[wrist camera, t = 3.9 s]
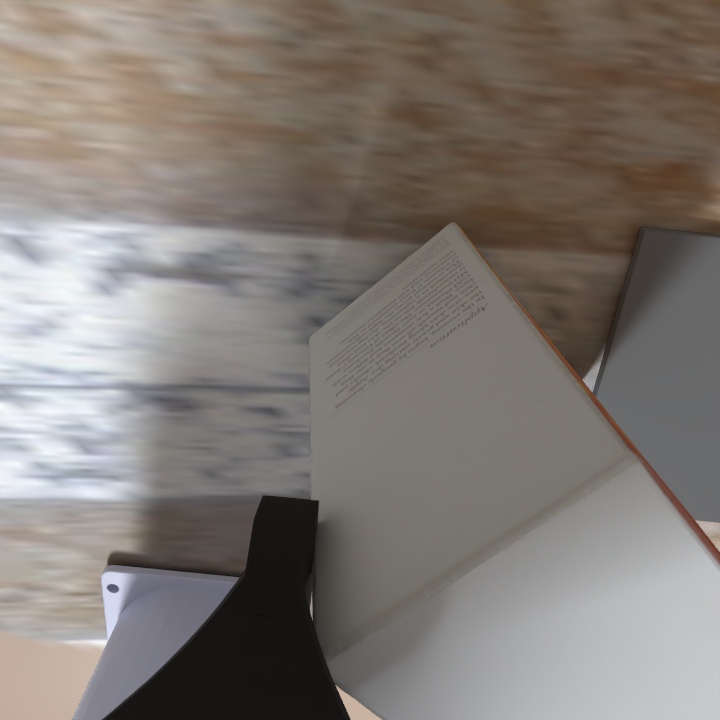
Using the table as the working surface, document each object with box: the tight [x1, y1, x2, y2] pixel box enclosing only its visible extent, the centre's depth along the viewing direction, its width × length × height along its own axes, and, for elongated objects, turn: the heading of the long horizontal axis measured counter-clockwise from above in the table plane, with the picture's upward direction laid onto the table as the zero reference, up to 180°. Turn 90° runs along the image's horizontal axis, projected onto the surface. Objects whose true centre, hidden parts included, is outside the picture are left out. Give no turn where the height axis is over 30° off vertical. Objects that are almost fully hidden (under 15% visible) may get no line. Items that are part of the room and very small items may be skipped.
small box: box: [309, 222, 720, 720], centre depth 17 cm, size 8×6×13 cm
